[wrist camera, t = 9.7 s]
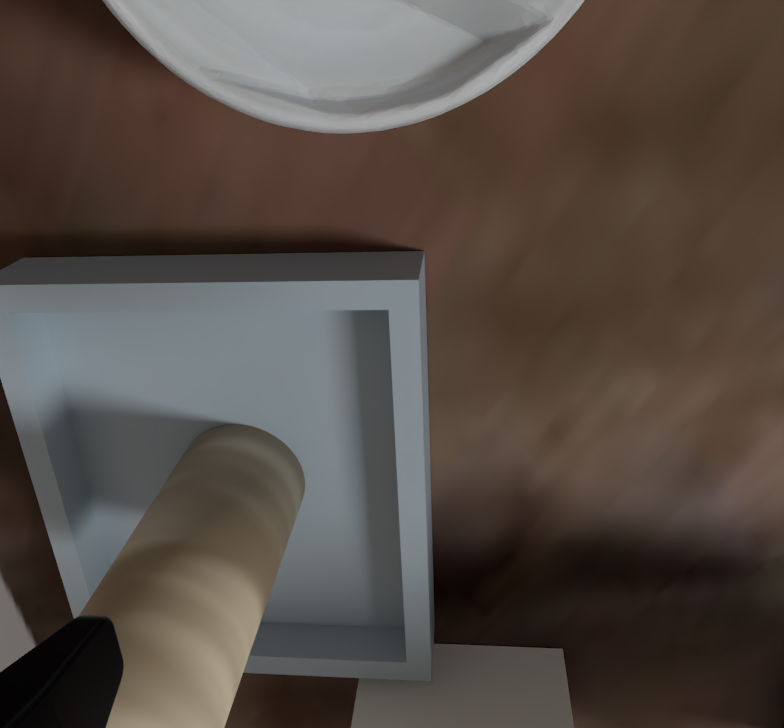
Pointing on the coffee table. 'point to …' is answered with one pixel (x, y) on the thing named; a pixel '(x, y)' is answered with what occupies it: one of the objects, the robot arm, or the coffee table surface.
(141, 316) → the slate tray
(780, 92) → the coffee table surface
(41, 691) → the robot arm
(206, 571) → the beech dowel
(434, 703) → the white open box
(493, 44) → the ramekin
